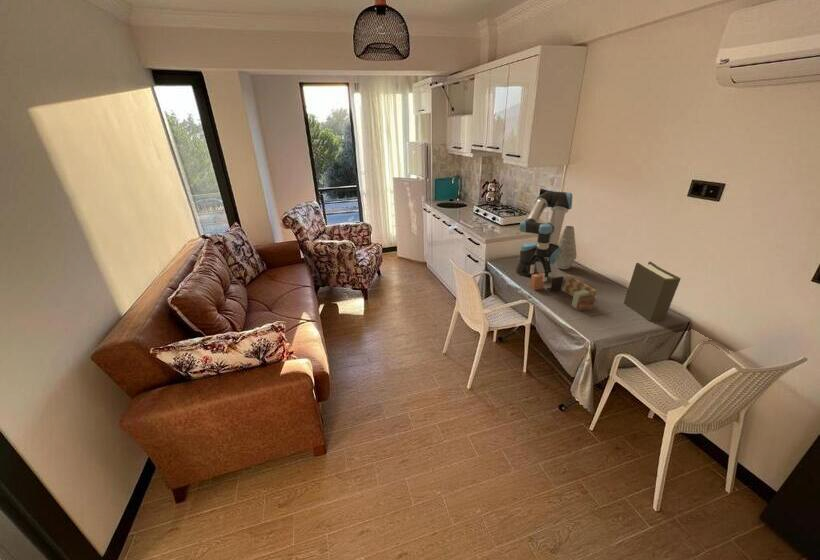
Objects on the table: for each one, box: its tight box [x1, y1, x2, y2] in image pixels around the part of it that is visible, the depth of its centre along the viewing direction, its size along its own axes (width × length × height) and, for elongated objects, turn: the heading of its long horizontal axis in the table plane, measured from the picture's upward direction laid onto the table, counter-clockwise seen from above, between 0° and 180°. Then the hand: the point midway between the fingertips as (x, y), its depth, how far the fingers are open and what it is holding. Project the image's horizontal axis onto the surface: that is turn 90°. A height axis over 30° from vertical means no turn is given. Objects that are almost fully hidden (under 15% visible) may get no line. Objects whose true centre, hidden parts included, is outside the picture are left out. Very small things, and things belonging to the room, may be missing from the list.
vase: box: [554, 225, 578, 270], centre depth 250 cm, size 17×17×33 cm
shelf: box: [563, 274, 597, 312], centre depth 208 cm, size 25×11×12 cm, turn 17°
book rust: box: [529, 272, 545, 291], centre depth 226 cm, size 4×8×10 cm, turn 107°
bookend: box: [546, 276, 564, 293], centre depth 222 cm, size 5×8×10 cm, turn 107°
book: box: [623, 261, 682, 323], centre depth 189 cm, size 22×9×28 cm, turn 8°
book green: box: [571, 290, 590, 309], centre depth 202 cm, size 4×8×10 cm, turn 107°
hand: (538, 277), depth 224 cm, fingers open, 13 cm apart
